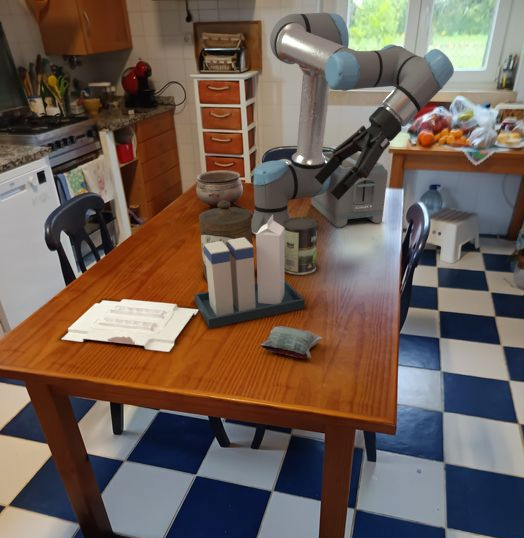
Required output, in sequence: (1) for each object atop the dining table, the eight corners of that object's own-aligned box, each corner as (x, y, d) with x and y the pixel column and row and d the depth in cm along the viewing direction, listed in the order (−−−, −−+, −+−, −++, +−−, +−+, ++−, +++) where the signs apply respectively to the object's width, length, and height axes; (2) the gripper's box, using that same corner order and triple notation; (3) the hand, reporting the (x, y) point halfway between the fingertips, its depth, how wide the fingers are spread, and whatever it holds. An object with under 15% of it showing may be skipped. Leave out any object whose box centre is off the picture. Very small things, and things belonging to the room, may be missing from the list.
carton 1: (209, 305, 128) (203, 243, 118) (226, 301, 129) (221, 240, 120) (216, 316, 122) (210, 253, 113) (233, 313, 124) (229, 250, 114)
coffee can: (317, 262, 151) (319, 217, 143) (314, 276, 142) (315, 229, 134) (285, 260, 152) (285, 216, 145) (279, 274, 144) (279, 228, 136)
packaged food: (274, 335, 115) (274, 317, 113) (322, 345, 111) (323, 326, 108) (259, 354, 109) (258, 336, 106) (309, 366, 105) (309, 347, 102)
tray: (195, 302, 130) (194, 294, 129) (282, 285, 137) (282, 277, 136) (209, 328, 119) (208, 319, 117) (304, 308, 126) (304, 299, 125)
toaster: (339, 232, 172) (343, 172, 161) (309, 204, 199) (311, 152, 188) (387, 226, 176) (394, 167, 164) (352, 200, 203) (356, 148, 191)
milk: (258, 303, 128) (254, 221, 116) (263, 293, 133) (260, 213, 120) (280, 305, 127) (279, 222, 114) (285, 294, 131) (284, 214, 119)
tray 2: (102, 300, 133) (100, 288, 131) (199, 312, 128) (198, 300, 126) (60, 339, 116) (56, 326, 114) (170, 355, 111) (168, 342, 109)
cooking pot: (237, 216, 189) (235, 184, 183) (190, 215, 192) (187, 183, 185) (248, 197, 210) (247, 168, 203) (205, 196, 213) (203, 167, 206)
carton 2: (231, 300, 129) (227, 239, 120) (247, 297, 131) (244, 237, 121) (239, 311, 124) (235, 249, 115) (255, 308, 125) (253, 246, 116)
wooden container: (195, 281, 141) (187, 206, 129) (217, 262, 152) (211, 191, 140) (243, 288, 136) (239, 211, 124) (261, 268, 148) (259, 195, 136)
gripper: (425, 138, 103) (352, 214, 109) (380, 120, 123) (321, 184, 130) (405, 112, 99) (330, 192, 105) (362, 98, 120) (302, 165, 126)
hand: (325, 188), depth 118 cm, fingers open, 13 cm apart
